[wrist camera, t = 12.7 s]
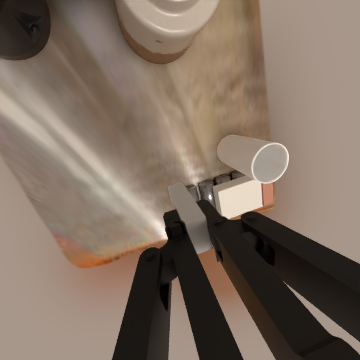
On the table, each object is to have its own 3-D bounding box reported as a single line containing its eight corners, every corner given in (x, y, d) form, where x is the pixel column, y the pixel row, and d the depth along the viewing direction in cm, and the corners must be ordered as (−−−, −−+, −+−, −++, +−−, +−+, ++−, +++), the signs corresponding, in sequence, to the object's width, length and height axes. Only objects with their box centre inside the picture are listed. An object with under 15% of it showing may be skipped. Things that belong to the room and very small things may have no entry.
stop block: (249, 195, 55) (263, 205, 49) (246, 166, 51) (262, 173, 45) (257, 192, 56) (273, 202, 49) (255, 163, 52) (272, 170, 45)
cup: (211, 157, 48) (244, 175, 33) (226, 129, 46) (267, 135, 31) (234, 168, 51) (273, 189, 36) (248, 142, 49) (296, 153, 34)
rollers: (188, 216, 53) (192, 224, 49) (180, 188, 49) (184, 194, 45) (244, 197, 55) (251, 202, 51) (241, 168, 51) (249, 172, 47)
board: (217, 214, 50) (223, 220, 47) (212, 186, 46) (218, 191, 43) (254, 200, 51) (262, 206, 48) (252, 173, 48) (260, 177, 44)
